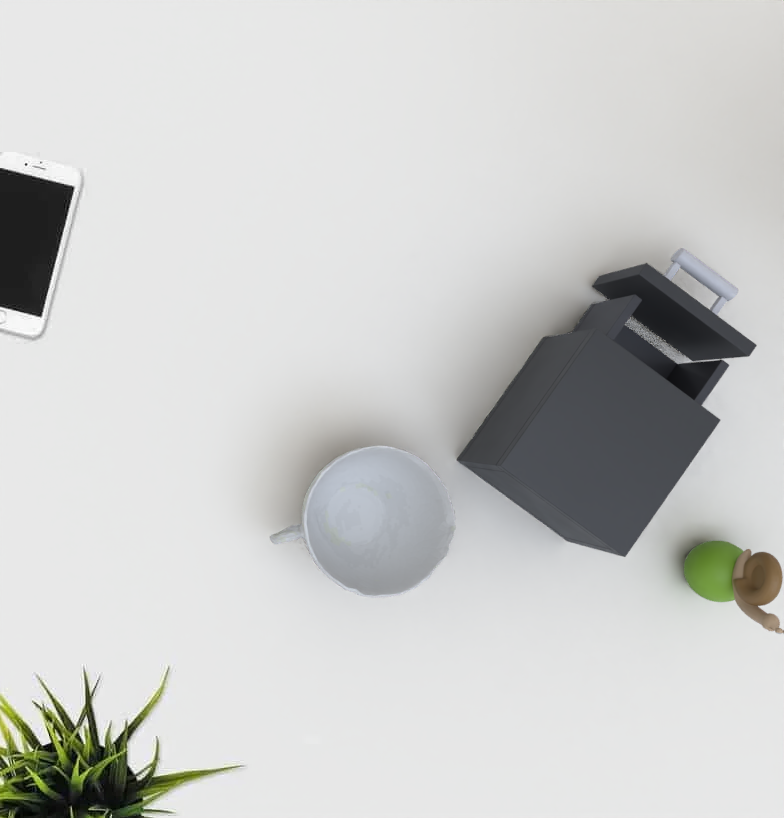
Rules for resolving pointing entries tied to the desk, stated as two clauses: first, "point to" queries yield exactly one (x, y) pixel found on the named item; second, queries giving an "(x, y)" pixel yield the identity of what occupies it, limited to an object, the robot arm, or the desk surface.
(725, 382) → the desk surface
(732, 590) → the snail figurine
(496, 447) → the air fryer
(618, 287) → the fryer drawer
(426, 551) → the teacup
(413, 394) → the desk surface
